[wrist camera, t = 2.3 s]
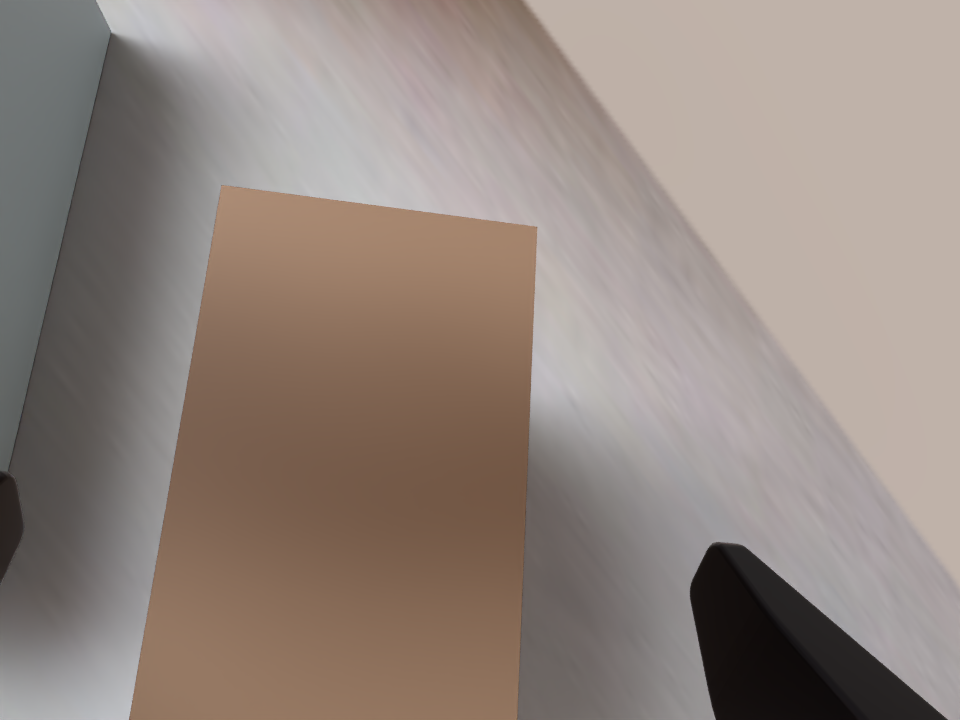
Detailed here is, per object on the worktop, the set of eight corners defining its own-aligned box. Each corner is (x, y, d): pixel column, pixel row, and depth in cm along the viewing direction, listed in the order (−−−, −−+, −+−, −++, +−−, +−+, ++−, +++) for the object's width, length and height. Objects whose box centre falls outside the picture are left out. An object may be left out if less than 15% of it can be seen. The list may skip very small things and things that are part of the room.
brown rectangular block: (425, 714, 15) (507, 945, 7) (245, 710, 15) (87, 959, 6) (450, 375, 17) (537, 227, 9) (292, 360, 17) (221, 185, 8)
